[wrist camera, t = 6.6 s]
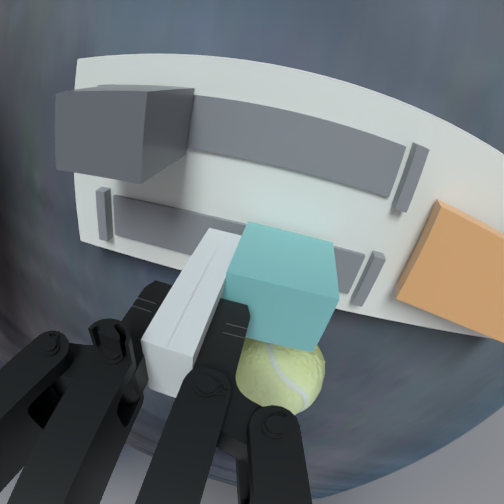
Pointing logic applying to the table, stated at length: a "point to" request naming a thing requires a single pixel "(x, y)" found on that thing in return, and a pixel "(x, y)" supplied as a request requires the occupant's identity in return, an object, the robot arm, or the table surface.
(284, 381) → the tennis ball
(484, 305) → the tan block
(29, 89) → the table surface
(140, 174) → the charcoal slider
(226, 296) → the teal slider
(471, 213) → the panel
